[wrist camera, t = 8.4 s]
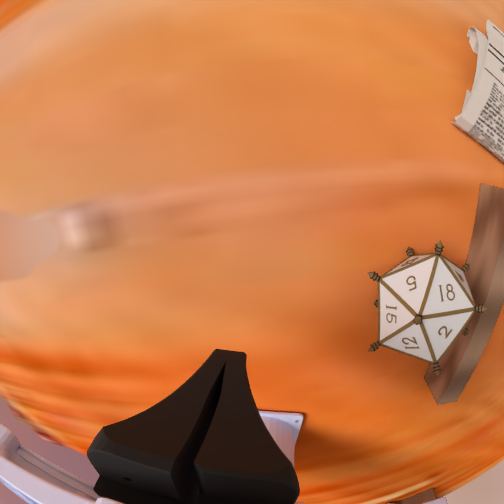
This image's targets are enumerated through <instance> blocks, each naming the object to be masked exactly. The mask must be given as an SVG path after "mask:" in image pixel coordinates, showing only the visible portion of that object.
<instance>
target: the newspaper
mask: <svg viewBox="0 0 504 504" xmlns="http://www.w3.org/2000/svg"><path fill="white" fill-rule="evenodd" d="M486 30H487V36H488V38H487V37H486V36H485V35H484V34H483V33H481V32H480V31H479V30H477V29H476V28H475V27H474V26H473V27H471V28H469V30H468V33H467V36H468V37H469V38H470V40H469V43H470V45H471V48H472V50H473V52H475V53H476V54H477V55H478V59H477V68H476V74H475V79H474V83H473V88H472V91H471V92H470V91H469V90H467V93H466V97H465V101H464V106H463V110H462V113H461V114H460V115H458V116H456V117H455V120H456V122H450V123H452V124H453V125H455V126H456V127H458V128H459V129H460V130H462V131H463V132H465V133H466V134H467V135H469V136H470V137H471V138H473V139H474V140H475V141H477V142H478V143H479V144H481V145H482V146H483V147H484V148H486V149H487V150H488V151H489V152H490V153H492V154H493V155H494V156H495V157H496V158H498V159H499V160H500V161H501V162H502V163H503V164H504V33H503V32H502V31H501V30H500V29H498V28H497V27H496V26H495V25H494V24H493V23H492V22H491V21H489V20H487V25H486Z"/></svg>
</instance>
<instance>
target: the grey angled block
mask: <svg viewBox="0 0 504 504" xmlns="http://www.w3.org/2000/svg"><path fill="white" fill-rule="evenodd" d="M436 499H437V498H436V495H435V492H434V488H431V489H429V490H427V491H424V492H422V493H420V494H417V495H415V496H412V497H410V498H407V499H405V500H402V501H399V502H396V503H387V504H422V503H425V502H429V501H432V500H436Z"/></svg>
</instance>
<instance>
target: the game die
mask: <svg viewBox="0 0 504 504" xmlns="http://www.w3.org/2000/svg"><path fill="white" fill-rule="evenodd" d="M443 248H444V246H443V245H442V243H441V241H440V242H439V243H437V244H436V248H435V250H436V253H432V254H422V255H413V249H411V248H410V247H408V249H407V251H406V252H407V255H409V257H408V258H407V259H406V260H404V261H403V262H401V263H400V264H398V265H397V266H395V267H394V268H393V269H391V270H390V271H388V272H387V273H385V274H384V275H382V276H381V277H380V276H379V275H378V273H375V271H374V272H368V274H369V276H370V279H373V280H377V281H378V300H376V302H374V304H375V305H376V307H378V341H377V342H375V343H373V344H372V345H371V346H370V348H369V350H368V351H375V350H376V349H378V347H379V346H380V345H381V346H384V347H387V348H389V349H392V350H395V351H398V352H401V353H403V354H406V355H409V356H412V357H415V358H418V359H421V360H423V361H426V362H429V363H432V364H434V367H433V369H434V371H433V372H434V373H435V374H436V375H437V376H438V375H439V372H440V370H441V369H440V366H439V364H438V362H439V361H440V360H441V358H442V357H443V356H444V355H445V353H446V352H447V351H448V350H449V348H450V347H451V346H452V344H453V343H454V342H455V340H456V339H457V338H458V336H459V335H460V333H461V332H462V334H464V336H465V335H467V334H469V331H468V329H467V328H465V326H466V325H467V323H468V322H469V321H470V319H471V318H472V316H473V315H474V313H475V311H478V312H479V313H480V312H481V313H483V312H484V311H486V310H487V309H488V308H487V307H485V306H484V304H482V305H480V304H479V305H477V306H476V305H475V301H474V298H473V295H472V292H471V289H470V287H469V284H468V281H467V278H466V276H465V272H467V271H468V270H470V269H469V267H470V264H466V263H465V265H463V268H462V269H461V268H459V267H458V266H457V265H455V264H454V263H452V262H451V261H449V260H448V259H447V258H445V257H444V256H442V255H441V252H442V251H443V250H442V249H443Z"/></svg>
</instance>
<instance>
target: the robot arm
mask: <svg viewBox="0 0 504 504" xmlns="http://www.w3.org/2000/svg"><path fill="white" fill-rule="evenodd" d="M246 356H247V355H246V354H245V353H244V352H237V351H229V350H221V349H216V350H214V351H213V353H212V354H211V355H210V356H209V358H208V359H207V360H206V361H205V362H204V364H203V365H202V366H201V367H200V368H199V369H198V370H197V371H196V372H195V373H194V374H193V375H192V376H191V377H190V378H189V379H188V380H187V381H186V382H185V383H184V384H183V385H181V386H180V387H179V388H178V389H177V390H176V391H174V392H173V393H172V394H170V395H169V396H168V397H166V398H165V399H163V400H162V401H160V402H159V403H157V404H156V405H154V406H152V407H151V408H149V409H147V410H145V411H143V412H141V413H139V414H137V415H135V416H133V417H131V418H128V419H126V420H123V421H120V422H117V423H114V424H111V425H108V426H104V427H103V428H102V429H101V430H100V432H99V433H98V434H97V436H96V437H95V439H94V440H93V442H92V444H91V445H90V447H89V449H88V450H87V456H88V458H89V460H90V462H91V463H92V465H93V466H94V468H95V469H96V470H97V472H98V473H99V475H100V476H99V478H98V480H97V482H96V484H92V483H90V482H88V481H86V480H84V479H82V478H80V477H78V476H76V475H74V474H72V473H70V472H68V471H66V470H64V469H62V468H60V467H58V466H57V465H55V464H53V463H51V462H49V461H48V460H46V459H44V458H43V457H41V456H39V455H38V454H36V453H35V452H33V451H31V450H30V449H28V448H27V447H25V446H24V445H22V444H21V443H20V441H19V440H18V438H17V437H16V436H15V435H14V434H13V433H12V432H11V431H10V430H9V429H7V428H6V427H5V426H3V425H2V424H0V482H2V483H3V484H4V485H5V486H7V487H8V488H9V489H10V490H11V491H13V492H14V493H15V494H17V495H18V496H19V497H21V498H22V499H23V500H25V501H26V502H27V503H29V504H295V503H296V500H297V498H298V496H299V493H300V488H299V482H298V478H297V475H296V472H295V470H294V447H295V444H296V441H297V438H298V435H299V431H300V428H301V425H302V421H303V414H301V413H285V412H271V411H259V410H258V409H257V407H256V404H255V401H254V399H253V396H252V393H251V389H250V385H249V381H248V377H247V371H246ZM296 504H304V503H303V502H297V503H296ZM422 504H447V500H446V498H445V497H442V498H439V499H436V500H432V501H429V502H425V503H422Z"/></svg>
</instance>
